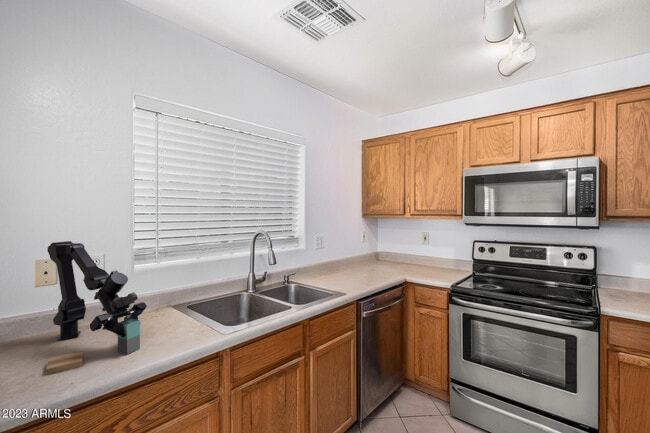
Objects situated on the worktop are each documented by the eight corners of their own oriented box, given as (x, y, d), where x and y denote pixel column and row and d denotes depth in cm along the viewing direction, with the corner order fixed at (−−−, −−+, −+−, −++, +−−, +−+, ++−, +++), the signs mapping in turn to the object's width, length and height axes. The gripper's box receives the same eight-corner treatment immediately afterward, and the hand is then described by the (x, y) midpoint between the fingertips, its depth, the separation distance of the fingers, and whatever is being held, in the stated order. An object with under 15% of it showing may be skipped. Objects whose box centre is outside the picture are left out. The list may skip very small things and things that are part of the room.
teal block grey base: (117, 352, 112) (117, 322, 112) (130, 346, 117) (130, 318, 117) (127, 354, 111) (126, 324, 110) (140, 348, 115) (139, 320, 115)
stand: (48, 364, 104) (48, 358, 104) (82, 356, 109) (82, 350, 109) (46, 375, 97) (45, 369, 97) (82, 366, 102) (82, 360, 102)
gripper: (94, 293, 106) (116, 329, 102) (143, 282, 123) (164, 312, 120) (80, 313, 109) (101, 349, 105) (130, 299, 126) (149, 329, 123)
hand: (131, 333), depth 113 cm, fingers closed on teal block grey base, 5 cm apart
